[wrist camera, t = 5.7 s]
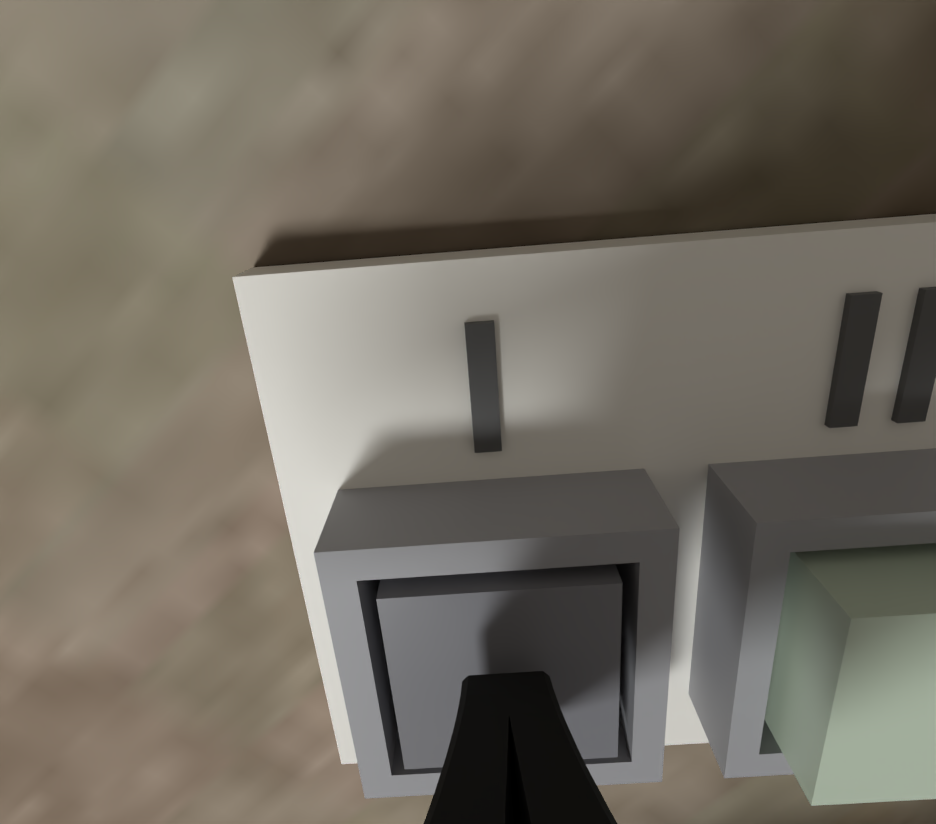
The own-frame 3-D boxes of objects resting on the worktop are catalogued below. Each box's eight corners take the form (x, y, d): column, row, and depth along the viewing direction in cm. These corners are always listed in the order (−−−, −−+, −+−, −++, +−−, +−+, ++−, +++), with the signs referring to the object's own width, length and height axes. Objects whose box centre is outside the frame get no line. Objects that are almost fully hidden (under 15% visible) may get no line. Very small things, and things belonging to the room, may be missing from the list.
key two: (961, 694, 12) (1053, 792, 10) (757, 706, 12) (810, 805, 10) (1016, 522, 10) (1137, 600, 8) (782, 537, 10) (851, 618, 9)
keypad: (1241, 674, 15) (1423, 793, 12) (349, 727, 15) (323, 853, 12) (1522, 167, 10) (1918, 168, 7) (252, 267, 11) (178, 302, 8)
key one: (595, 673, 13) (617, 757, 11) (412, 684, 13) (404, 769, 11) (596, 516, 11) (622, 583, 10) (390, 530, 12) (375, 599, 10)
